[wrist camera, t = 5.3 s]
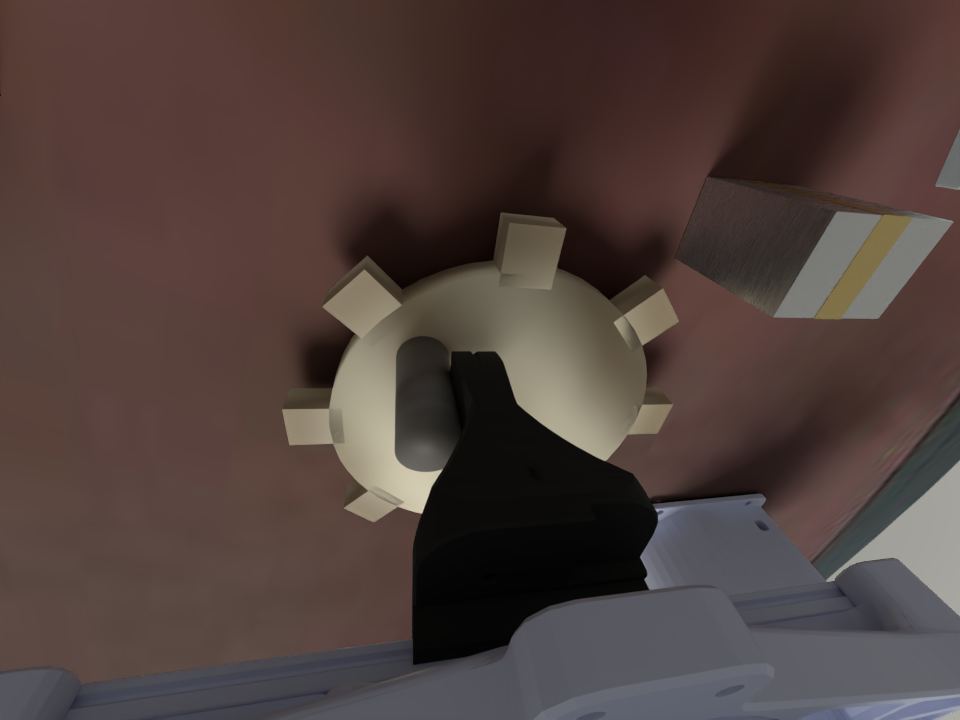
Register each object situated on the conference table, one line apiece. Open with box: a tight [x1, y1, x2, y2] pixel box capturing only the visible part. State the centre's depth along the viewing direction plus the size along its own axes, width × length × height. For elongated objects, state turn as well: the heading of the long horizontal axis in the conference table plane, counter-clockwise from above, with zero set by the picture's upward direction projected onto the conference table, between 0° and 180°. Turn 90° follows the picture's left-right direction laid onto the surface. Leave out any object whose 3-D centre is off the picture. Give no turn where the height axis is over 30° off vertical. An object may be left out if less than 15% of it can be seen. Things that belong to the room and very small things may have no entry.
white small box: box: [675, 177, 954, 319], centre depth 13 cm, size 4×3×5 cm
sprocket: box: [282, 213, 679, 522], centre depth 14 cm, size 16×16×5 cm
